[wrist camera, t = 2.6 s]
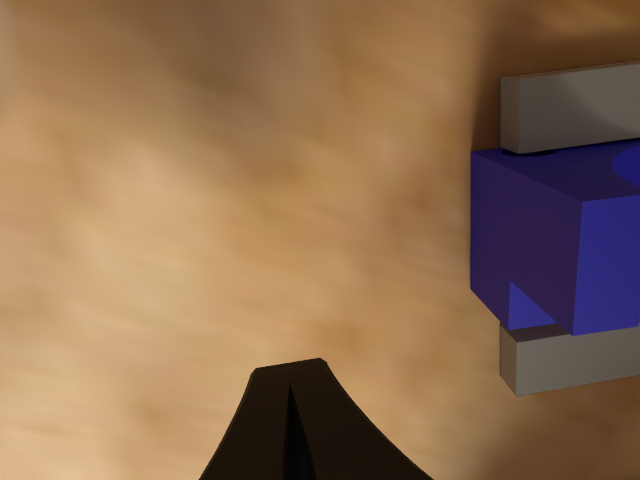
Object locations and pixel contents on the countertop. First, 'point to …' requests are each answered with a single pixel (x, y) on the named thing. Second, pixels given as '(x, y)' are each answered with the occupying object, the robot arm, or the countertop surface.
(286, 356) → the countertop surface
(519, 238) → the cable clip
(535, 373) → the cable guide
